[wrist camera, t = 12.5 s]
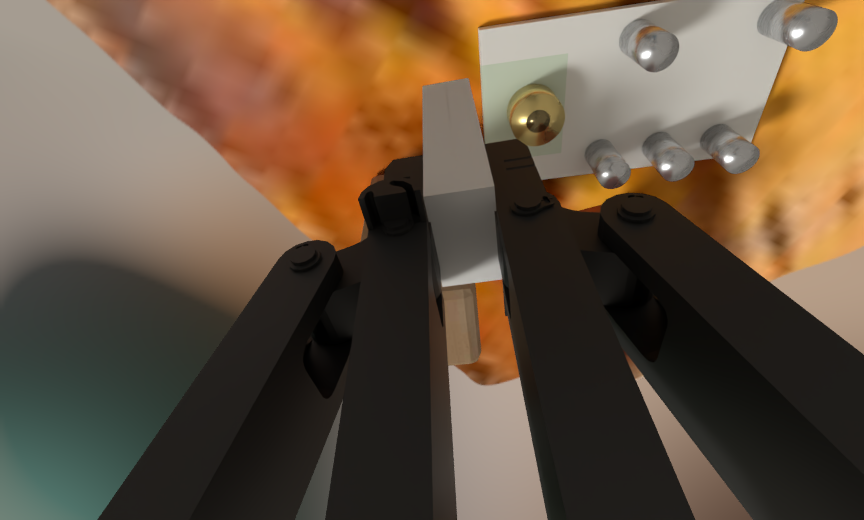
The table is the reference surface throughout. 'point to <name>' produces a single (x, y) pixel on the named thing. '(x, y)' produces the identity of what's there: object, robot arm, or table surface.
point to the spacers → (722, 143)
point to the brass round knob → (535, 115)
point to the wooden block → (456, 317)
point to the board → (631, 78)
